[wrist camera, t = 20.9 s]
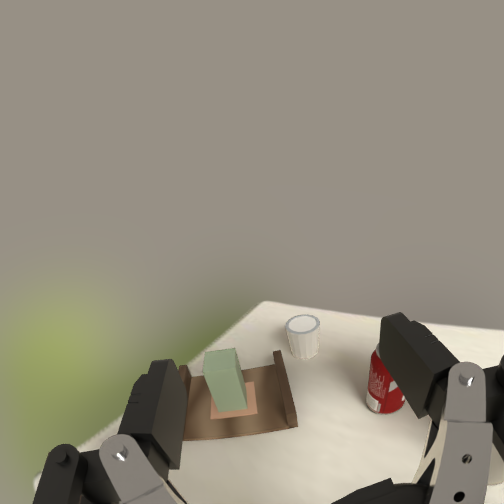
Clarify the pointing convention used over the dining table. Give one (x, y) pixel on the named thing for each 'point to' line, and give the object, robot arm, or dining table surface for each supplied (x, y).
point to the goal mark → (251, 410)
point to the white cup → (303, 335)
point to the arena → (267, 420)
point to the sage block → (225, 380)
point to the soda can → (382, 388)
